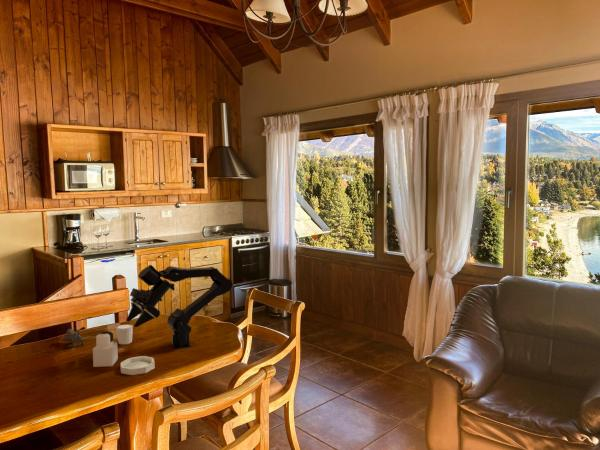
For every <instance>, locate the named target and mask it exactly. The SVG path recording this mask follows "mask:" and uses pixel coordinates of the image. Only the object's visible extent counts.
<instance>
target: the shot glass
mask: <svg viewBox="0 0 600 450" xmlns="http://www.w3.org/2000/svg"><path fill="white" fill-rule="evenodd" d="M115 328H116V337H117V344H119V345H129V344H131V343H133V328H134V324H120V325H117V326H116V327H115Z"/></svg>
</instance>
